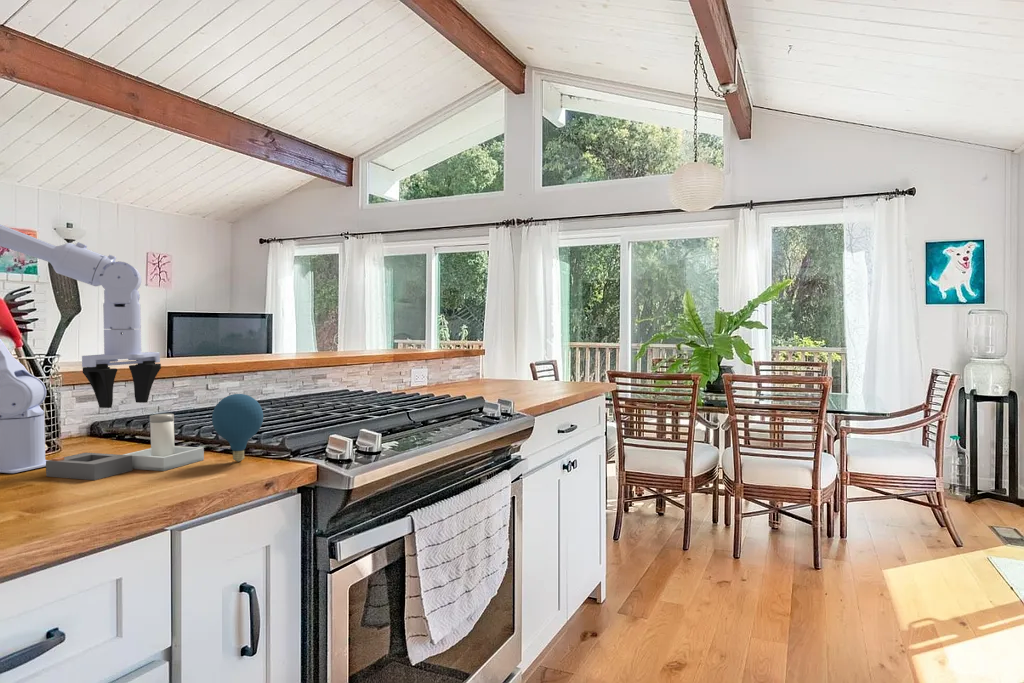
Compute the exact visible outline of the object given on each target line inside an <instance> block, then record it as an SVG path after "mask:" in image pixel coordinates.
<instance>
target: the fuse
mask: <svg viewBox="0 0 1024 683" xmlns="http://www.w3.org/2000/svg"><path fill="white" fill-rule="evenodd" d="M149 424H150V428H149V429H150V448H151V456H158V457H165V456H169V455H173V454H175V446H176V445H175V413H157V414H156V413H155V414H151V415H149Z"/></svg>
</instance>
